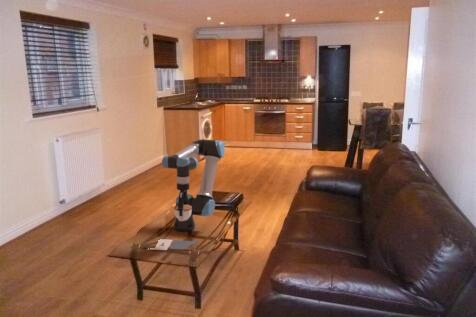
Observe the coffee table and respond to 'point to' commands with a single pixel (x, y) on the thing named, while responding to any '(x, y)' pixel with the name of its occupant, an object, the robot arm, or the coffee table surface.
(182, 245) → the mat
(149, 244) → the coffee table surface
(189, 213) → the lidded jar
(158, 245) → the card
